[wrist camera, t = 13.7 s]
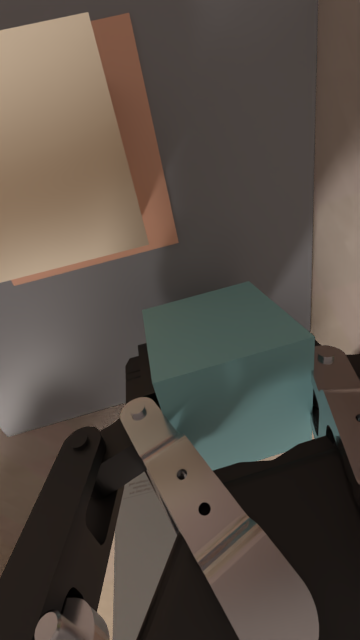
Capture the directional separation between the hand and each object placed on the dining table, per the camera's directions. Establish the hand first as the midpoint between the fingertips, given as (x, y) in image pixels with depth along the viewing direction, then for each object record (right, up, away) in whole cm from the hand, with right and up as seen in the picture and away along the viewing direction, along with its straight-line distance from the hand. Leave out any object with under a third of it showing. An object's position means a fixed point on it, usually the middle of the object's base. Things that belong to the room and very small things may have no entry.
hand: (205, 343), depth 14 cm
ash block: (-6, +7, -2) cm, 10 cm away
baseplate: (-4, +5, +1) cm, 6 cm away
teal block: (0, 0, 0) cm, 0 cm away
